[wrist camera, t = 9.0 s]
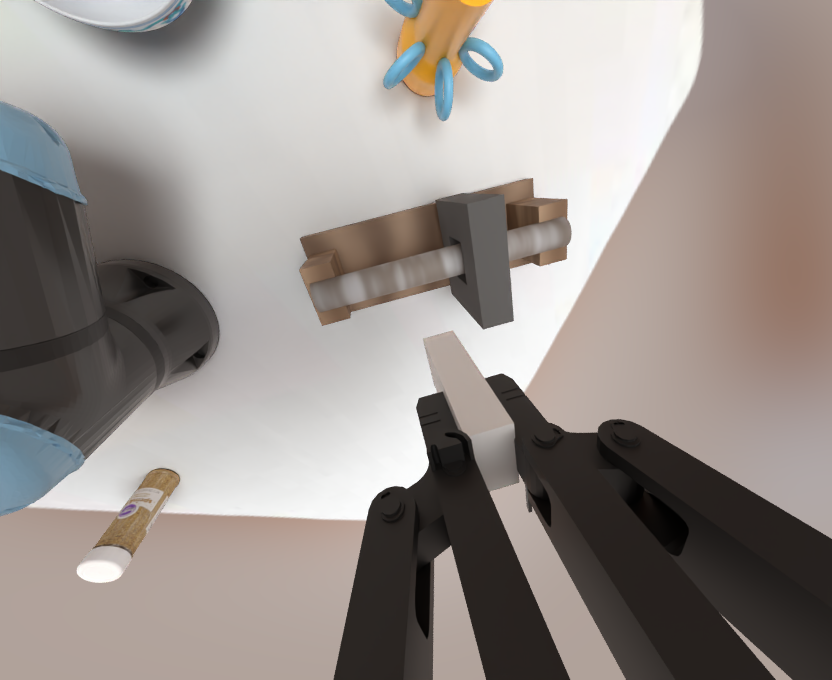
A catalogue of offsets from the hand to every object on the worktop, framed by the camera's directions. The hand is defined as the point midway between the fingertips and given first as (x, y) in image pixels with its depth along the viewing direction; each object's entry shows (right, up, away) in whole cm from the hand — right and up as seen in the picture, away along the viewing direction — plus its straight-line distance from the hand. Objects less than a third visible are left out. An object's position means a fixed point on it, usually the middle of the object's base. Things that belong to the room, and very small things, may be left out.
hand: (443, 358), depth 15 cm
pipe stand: (0, +13, +23) cm, 27 cm away
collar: (+3, +12, +20) cm, 24 cm away
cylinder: (0, +29, +15) cm, 33 cm away
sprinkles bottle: (-41, -21, +33) cm, 57 cm away
